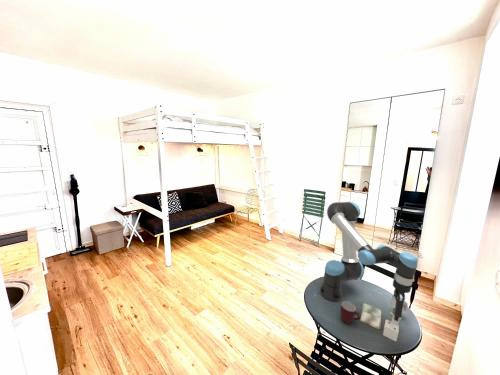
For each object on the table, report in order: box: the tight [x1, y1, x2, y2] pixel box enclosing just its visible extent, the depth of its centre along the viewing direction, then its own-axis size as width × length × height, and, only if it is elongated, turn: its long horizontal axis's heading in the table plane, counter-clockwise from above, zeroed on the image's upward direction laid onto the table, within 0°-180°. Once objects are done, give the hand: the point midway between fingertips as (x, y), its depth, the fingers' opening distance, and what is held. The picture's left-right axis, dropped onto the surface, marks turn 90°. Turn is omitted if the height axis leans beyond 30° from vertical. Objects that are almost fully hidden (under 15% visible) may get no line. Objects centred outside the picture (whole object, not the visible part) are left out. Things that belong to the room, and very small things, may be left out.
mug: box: [340, 300, 361, 324], centre depth 118 cm, size 11×8×10 cm
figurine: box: [389, 296, 408, 321], centre depth 124 cm, size 8×8×15 cm
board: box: [359, 302, 382, 331], centre depth 124 cm, size 10×16×1 cm, turn 146°
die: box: [382, 319, 400, 342], centre depth 112 cm, size 6×6×6 cm
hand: (394, 315), depth 109 cm, fingers open, 13 cm apart
